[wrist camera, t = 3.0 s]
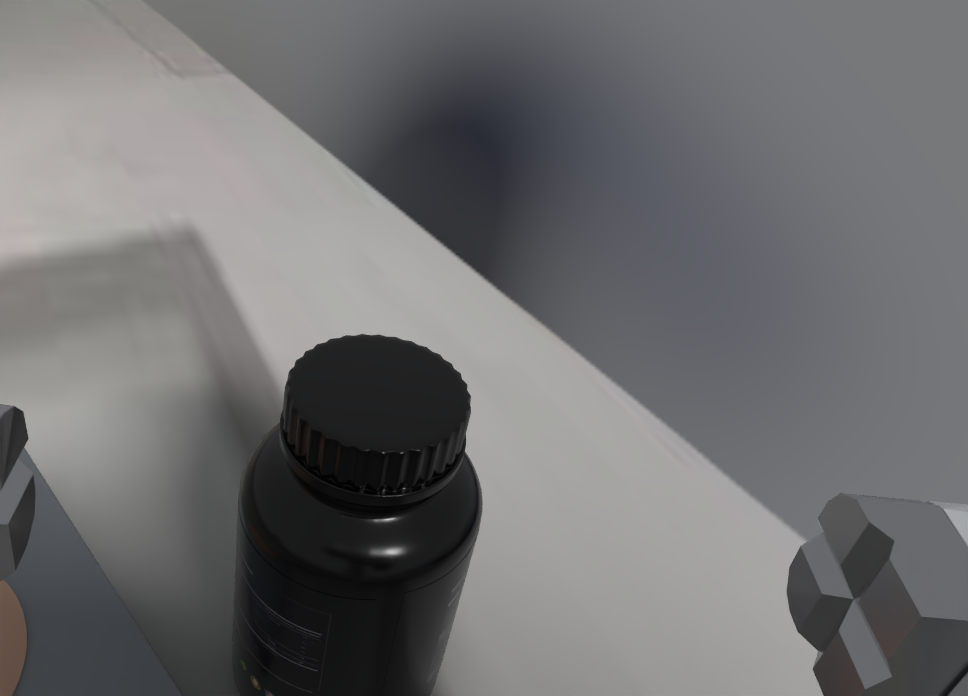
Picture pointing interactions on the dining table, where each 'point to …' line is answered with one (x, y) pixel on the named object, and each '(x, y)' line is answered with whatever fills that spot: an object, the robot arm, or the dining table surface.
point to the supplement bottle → (355, 525)
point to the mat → (69, 619)
